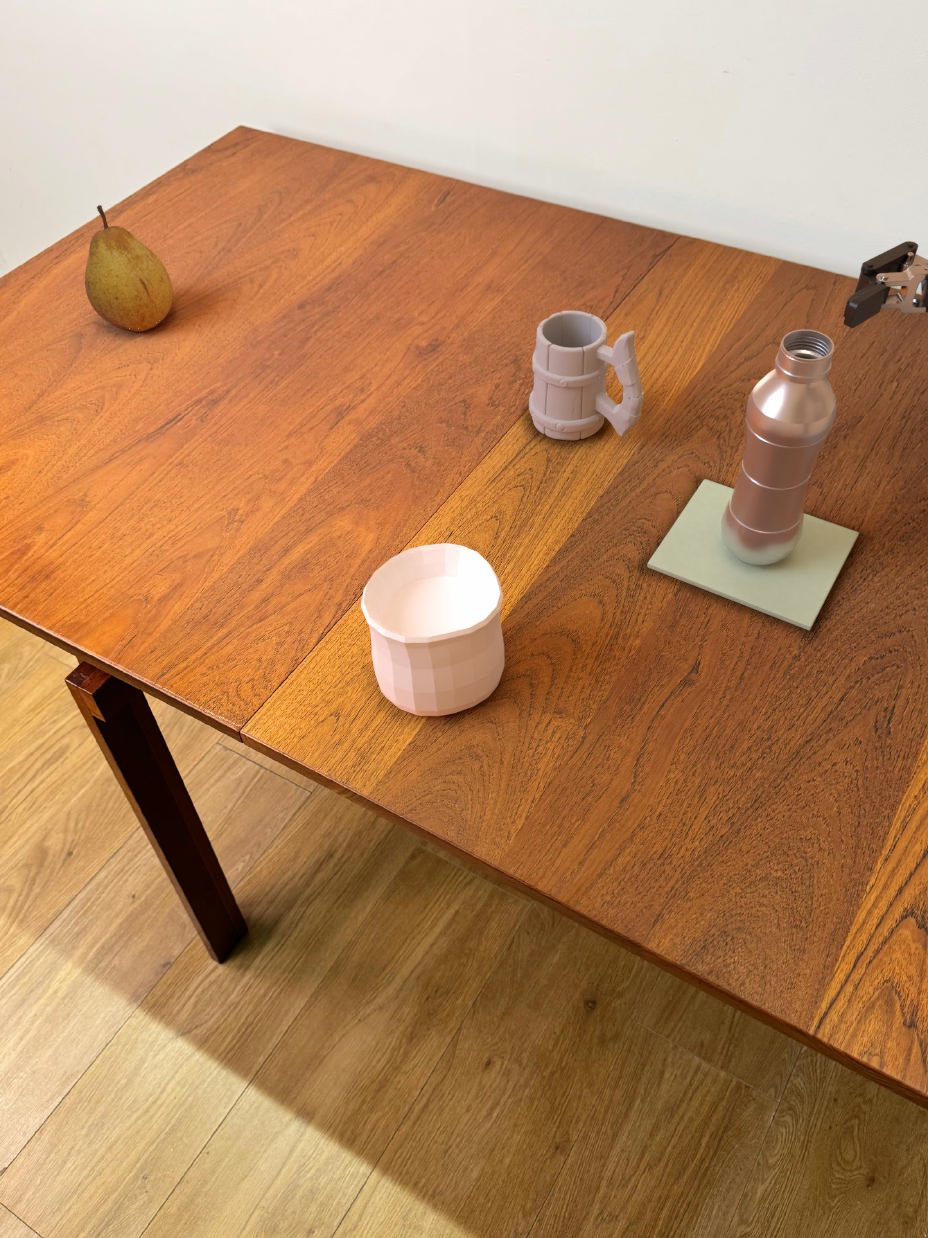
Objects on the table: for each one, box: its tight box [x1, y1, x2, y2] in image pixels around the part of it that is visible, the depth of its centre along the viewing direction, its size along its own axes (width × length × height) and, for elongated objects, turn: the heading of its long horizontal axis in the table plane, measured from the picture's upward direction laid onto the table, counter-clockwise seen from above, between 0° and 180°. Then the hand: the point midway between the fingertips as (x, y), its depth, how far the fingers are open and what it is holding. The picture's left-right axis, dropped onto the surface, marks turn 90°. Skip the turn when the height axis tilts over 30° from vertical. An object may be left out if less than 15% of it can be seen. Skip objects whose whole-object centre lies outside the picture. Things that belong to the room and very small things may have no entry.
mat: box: [646, 478, 860, 631], centre depth 84 cm, size 14×12×1 cm
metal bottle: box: [721, 328, 838, 565], centre depth 76 cm, size 6×7×20 cm
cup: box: [360, 542, 506, 717], centre depth 74 cm, size 10×10×10 cm
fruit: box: [84, 204, 174, 333], centre depth 107 cm, size 9×9×12 cm
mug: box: [528, 310, 645, 441], centre depth 91 cm, size 8×12×12 cm, turn 49°
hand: (897, 339), depth 73 cm, fingers open, 8 cm apart
